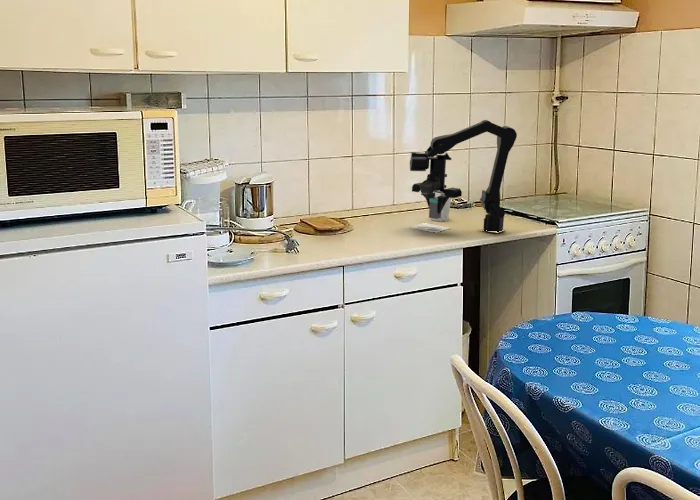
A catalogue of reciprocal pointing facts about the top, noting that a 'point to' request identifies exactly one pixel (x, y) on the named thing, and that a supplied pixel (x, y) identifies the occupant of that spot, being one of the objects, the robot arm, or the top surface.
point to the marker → (434, 208)
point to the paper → (429, 227)
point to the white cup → (444, 210)
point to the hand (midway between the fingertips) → (435, 212)
